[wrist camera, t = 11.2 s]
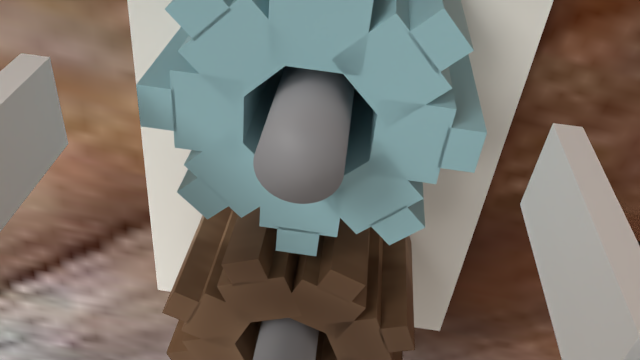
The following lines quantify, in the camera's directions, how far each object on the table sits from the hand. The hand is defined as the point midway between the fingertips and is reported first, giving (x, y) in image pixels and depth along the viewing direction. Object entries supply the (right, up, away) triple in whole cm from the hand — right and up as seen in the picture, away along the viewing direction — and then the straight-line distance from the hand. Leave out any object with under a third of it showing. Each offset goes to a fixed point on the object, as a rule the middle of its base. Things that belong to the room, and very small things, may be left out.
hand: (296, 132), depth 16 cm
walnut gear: (0, -5, +12) cm, 13 cm away
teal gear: (+1, +4, +6) cm, 7 cm away
